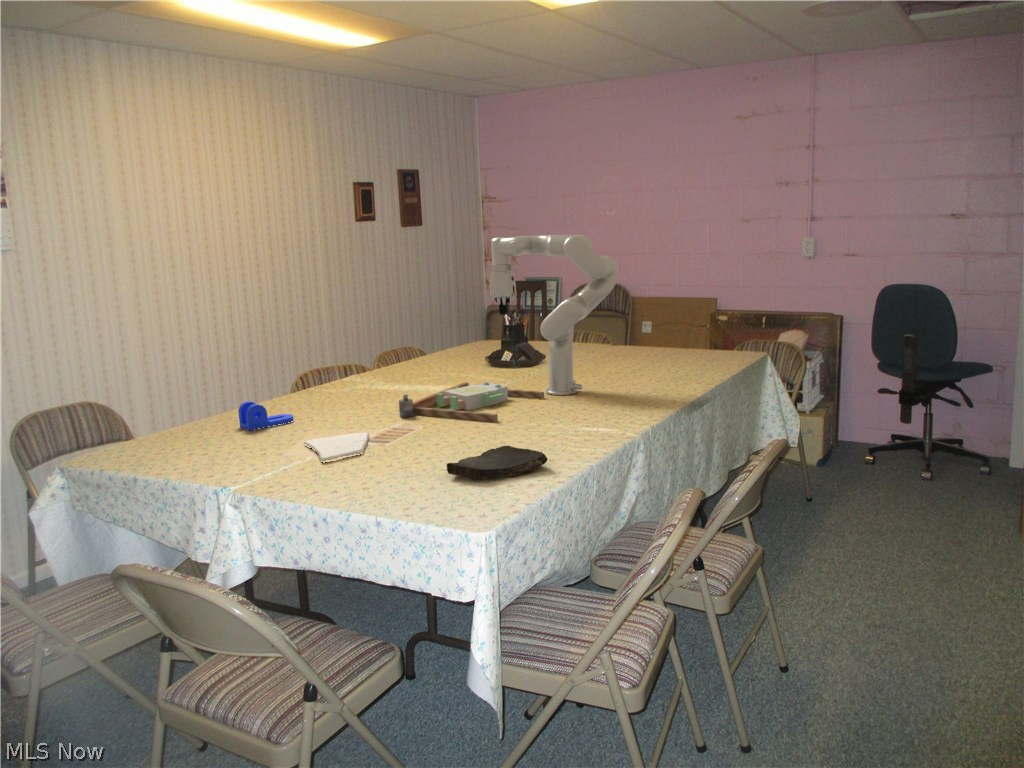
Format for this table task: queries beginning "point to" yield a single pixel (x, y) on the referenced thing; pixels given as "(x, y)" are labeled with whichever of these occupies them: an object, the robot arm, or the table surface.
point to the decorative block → (472, 396)
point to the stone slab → (498, 463)
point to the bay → (426, 404)
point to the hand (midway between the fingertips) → (503, 314)
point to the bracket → (259, 417)
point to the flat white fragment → (339, 445)
